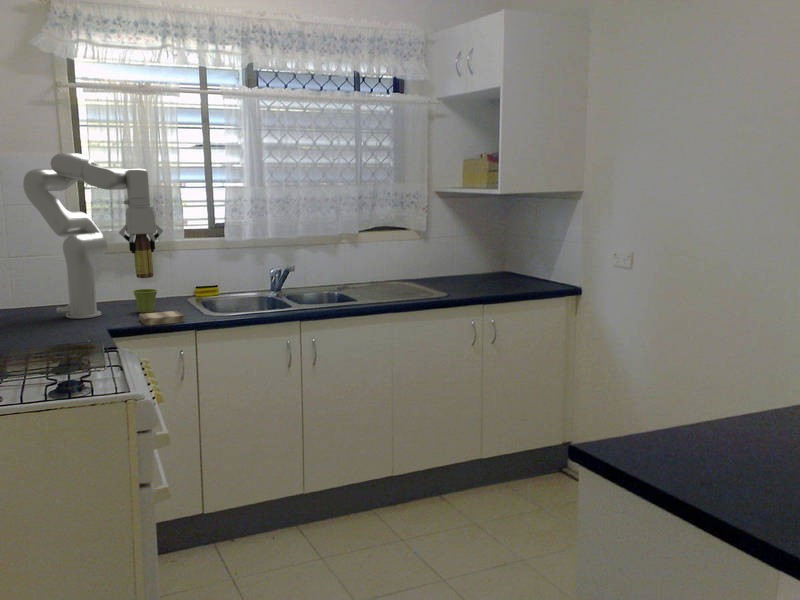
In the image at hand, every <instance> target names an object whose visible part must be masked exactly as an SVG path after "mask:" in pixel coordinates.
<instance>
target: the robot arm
mask: <svg viewBox="0 0 800 600" xmlns="http://www.w3.org/2000/svg"><path fill="white" fill-rule="evenodd" d="M50 167H51V168H35V169H32V170H29V171H28V172H26V174H25V175H24V178H23V184H22V185H23V186H22V187H23V191H24V194H25V196H26V197H27V199H28V200H29V202H30V203H31V204H32V205H33V206H34V207H35V208H36V209H37V211H38V212H39V213H40V215H41V216H42V218H43V220H44V221H45V222H46V223H47V224H48V226H49V227H50V229H51V230H52V231H53V232H54V233H55V235H57V236H58V237H61V238H63V237H66V238H65V239H64V240H63V243H62V252H63V255H64V259H65V263H66V272H67V283H68V285H67V286H68V300H69V301H68V302H69V303H68V304H67V305H65V306H64V307H63V306H62V307H56V313H57V314H58V313H61V314H62V313H66V314H65V317H66V318H69V319H76V320H77V319H81V320H82V319H90V318H91V319H92V318H96V317H100V316H102V311H100V310H97V309H98V308H97V295H96V277H95V268H94V265H93V263H92V261H91V260H90V258H98V257H101V256H103V255H105V254H106V253H107V251H108V247H109V246H108V241H107V238H106V237H105V235H104V234H103V232H102V231H101V230H100V229H99V227H98V226H97V224H96V223H95V222H94V220H93V219H92V217H90V216H89V215H88V214H87V213H85V212H84V211H78V210H76V211H75V210H74V211H73V210H72V211H70V210H68V209H66V207H65V206H64V205H63V203H62V202H61V201H60V199H59V198H57V197H56V196H55V195H53V194H52V193H51V192H54V191H55V192H57V191H59V192H60V191H64V190H67V189H69V188H71V187H72V186H73V185H74V184H76V183H77V182H78V181H81V182H84V183H85V184H87V185H89V186H91V187H94V188H98V189H103V190H107V191H108V190H109V191H112V190H118V191H119V190H126V192H127V199H124V200H123V205H126V206H128V207H126V209H125V225H124V226H123V227H122V228H121V229H120V230H119V232H118V234H119V235H120V236H121V237H123V238H124V239H125V240H126V241H128V247H129V251H130V252H131V253H132V254H134V253H135V246H134V239H135V237H136V235H139V234H147V236H148V238H149V241H150V244H151V252H152V253H155V252H154V251H155V250H156V244H155V243H156V242H155V241H157V239H158V238H159V236H160V235H161V234H162V233H164V230H163V229H162V228H161V227H160V226H159V225H158V224H156V217H155V211H154V207H153V206H151V201H150V200H151V199H150V187H149V186H150V185H149V175H148V171H147V169H144V168H130V169H127V168H106V167H101V166H97V163H96V162H95V160H93V159H89V158H87V156H85V155H83V154H81V153H76V152H73V153H72V152H60V153H57V154H55V155H53V156H52V158H51V160H50ZM125 232H126V233H127V234H128V235H129V236H128V235H127V234H126V233H125Z"/></svg>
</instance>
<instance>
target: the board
mask: <svg viewBox="0 0 800 600" xmlns="http://www.w3.org/2000/svg"><path fill="white" fill-rule="evenodd" d="M138 316H139V317H138V319H139V320H140V322H141V323H142V324H143V325H145V326H146V327H148V326H155V325H156V326H157V325H168V324H179V323H185V315H184V314H182V313H181V312H179V311H178V310H170V311H169V310H168V311H161V312H160V311H158V312H157V311H156V312H150V313H147V312H144V313H139V314H138Z"/></svg>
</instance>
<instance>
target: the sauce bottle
mask: <svg viewBox="0 0 800 600" xmlns="http://www.w3.org/2000/svg"><path fill="white" fill-rule="evenodd" d="M134 239H135V240H133V242H134V246H135V253H133V258H134V268H135V274H136V278H138V279H148V278H149V279H150V278H153V277H154V264H153V255H152V254H153V252H151V244H150V238H149V237H148V234H139V235H135V237H134Z"/></svg>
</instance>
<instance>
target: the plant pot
mask: <svg viewBox="0 0 800 600" xmlns="http://www.w3.org/2000/svg"><path fill="white" fill-rule="evenodd" d="M157 292H159V291H158V289H155V288H141V289H140V288H139V289H134V290H132V293H133V295H134V298H135V302H136V307H137V308H136V309H137V312H138V313H139V312H140V313H139V314H145V313H155V309H156V308H155V305H156V296H157V294H158V293H157Z"/></svg>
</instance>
